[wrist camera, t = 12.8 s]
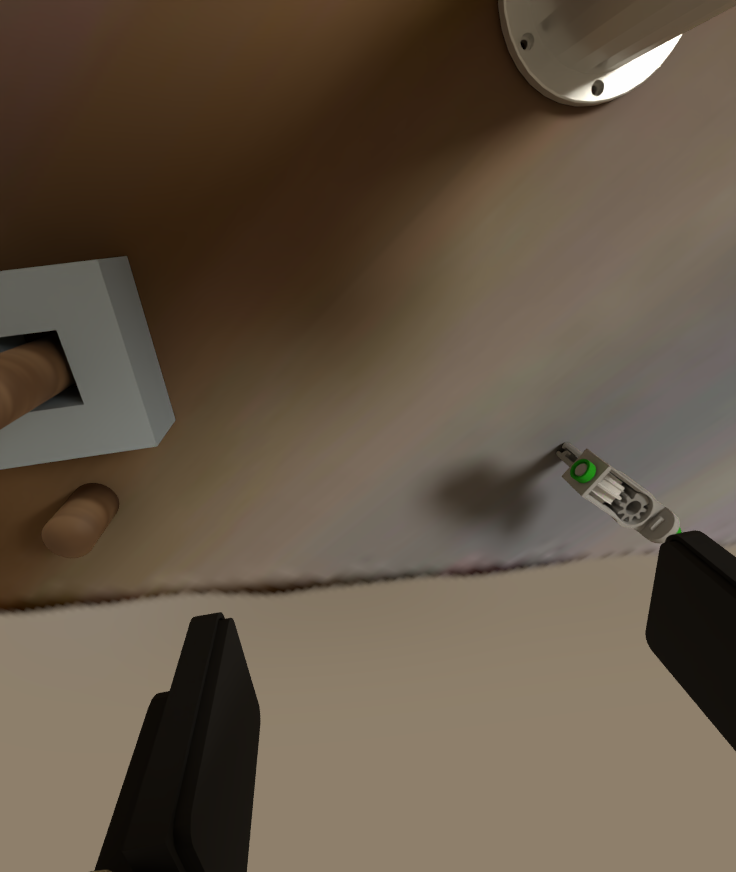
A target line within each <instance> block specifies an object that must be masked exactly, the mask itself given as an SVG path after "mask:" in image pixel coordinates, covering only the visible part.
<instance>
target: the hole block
mask: <svg viewBox="0 0 736 872" xmlns="http://www.w3.org/2000/svg"><path fill="white" fill-rule="evenodd" d="M53 330H56V331H57V333H58V336H59V339H60V341H61V344H62V347H63V349H64V352H65V355H66V357H67V360H68V363H69V365H70V368H71V371H72V373H73V376H74V379H75V381H76V384H77V387H75V388H68V389H65V390H63V391H62V392H60V393H59V394H57V395H55V396H54V397H52V398H50V399H49V400H47V401H46V402H44V403H42V404H41V405H39V406H38V407H36V408H34V409H33V410H31V411H30V412H28V413H26V414H25V415H23V416H22V417H20V418H18V419H17V420H15V421H13V422H12V423H10V424H9V425H7V426H5V427H4V428H2V429H1V430H0V470H1V469H7V468H14V467H21V466H28V465H34V464H41V463H48V462H55V461H62V460H68V459H75V458H82V457H89V456H95V455H102V454H109V453H116V452H123V451H129V450H136V449H143V448H150V447H156V446H158V444H159V443H160V442H161V440H162V439H163V437H164V436H165V434H166V433H167V432H168V430H169V429H170V427H171V426H172V424H173V423H174V422H175V417H174V413H173V410H172V406H171V403H170V400H169V396H168V393H167V390H166V386H165V383H164V379H163V376H162V373H161V369H160V366H159V362H158V359H157V356H156V352H155V349H154V346H153V342H152V339H151V335H150V332H149V329H148V325H147V322H146V318H145V315H144V312H143V308H142V305H141V302H140V298H139V295H138V291H137V288H136V285H135V281H134V278H133V274H132V271H131V268H130V264H129V261H128V258H127V256H122V257H114V258H105V259H97V260H89V261H80V262H72V263H64V264H55V265H47V266H39V267H30V268H22V269H14V270H5V271H0V353H1V352H4V351H6V350H9V349H12V348H14V347H17V346H20V345H23V344H25V343H26V341H25V338H24V336H23V334H29V333H37V332H45V331H53Z"/></svg>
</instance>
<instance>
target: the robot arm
mask: <svg viewBox="0 0 736 872" xmlns="http://www.w3.org/2000/svg"><path fill="white" fill-rule="evenodd" d="M734 6H736V0H498V9H499V15H500V22H501V29H502V32H503V35H504V39H505V42H506V45H507V48H508V51H509V53H510V55H511V57H512V59H513V61H514V63H515V65H516V67H517V68H518V70H519V71H520V73H521V74H522V75H523V76H524V78H525V79H526V80H527V81H528V83H529V84H530V85H531V86H533V87H534V88H535V89H536V90H537V91H539V92H540V93H541V94H542V95H544V96H545V97H548V98H550V99H552V100H554V101H556V102H558V103H561V104H566V105H571V106H576V107H577V106H594V105H598V104H601V103H605V102H608V101H611V100H614V99H616V98H618V97H620V96H622V95H625V94H627V93H628V92H630V91H631V90H633V89H635V88H636V87H638V86H639V85H641V84H642V83H644V82H645V81H646V80H647V79H648V78H649V77H650V76H651V75H652V74H653V73H654V72H656V71H657V70H658V69H659V68H660V66H661V65H662V64H663V63H664V61H665V60H666V59H667V58H668V56H669V55H670V54H671V52H672V51H673V50H674V48H675V46H676V45H677V43H678V42H679V40H680V38H681V37H682V35H683V33H685V32H687V31H689V30H691V29H693V28H695V27H696V26H698V25H700V24H702V23H704V22H706V21H708V20H710V19H711V18H713V17H715V16H717V15H719V14H721V13H723V12H725V11H726V10H728V9H730V8H732V7H734ZM520 42H522V43H523V44H524V46H525V48H524V50H523V48H522V47H521V44H520ZM591 88H592V89H593V94H592V92H591ZM646 640H647V643H648V645H649V647H650V649H651V650H652V651H653V652H654V654H655V655H656V656H657V657H658V658H659V660H660V661H661V662H662V663H663V665H664V666H665V667H666V668H667V669H668V671H669V672H670V673H671V674H672V675H673V677H674V678H675V679H676V680H677V681H678V683H679V684H680V685H681V686H682V687H683V689H684V690H685V691H686V692H687V693H688V695H689V696H690V697H691V698H692V699H693V700H694V702H695V703H696V704H697V705H698V707H699V708H700V709H701V710H702V711H703V712H704V714H705V715H706V716H707V717H708V719H709V720H710V721H711V722H712V723H713V725H714V726H715V727H716V728H717V729H718V730H719V732H720V733H721V734H722V735H723V737H724V738H725V739H726V740H727V741H728V743H729V744H730V745H731V746H732V747H733V749H734V750H735V751H736V557H735V556H733V555H732V554H731V553H729V552H728V551H727V550H725V549H724V548H723V547H721V546H720V545H719V544H717V543H716V542H715V541H713V540H712V539H711V538H709V537H708V536H707V535H705V534H704V533H702V532H700V531H696V530H695V531H689V532H683V533H677V534H672V535H669V536H668V537H667V538H666V540H665V543H663V544H662V545H661V546H660V550H659V556H658V562H657V568H656V573H655V580H654V585H653V591H652V597H651V603H650V609H649V614H648V620H647V626H646ZM259 731H260V709H259V704H258V700H257V697H256V694H255V690H254V687H253V684H252V680H251V677H250V673H249V670H248V667H247V663H246V660H245V657H244V653H243V650H242V646H241V643H240V640H239V636H238V633H237V629H236V626H235V623H234V620H233V619H232V618H228V619H225V618H224V615H223V614H222V613H221V612H220V613H213V614H208V615H203V616H197V617H193V618H192V619H191V622H190V624H189V628H188V631H187V634H186V638H185V641H184V645H183V648H182V651H181V655H180V658H179V661H178V665H177V668H176V672H175V675H174V678H173V682H172V685H171V689H170V691H168V692H163V693H158V694H156V695H155V696H154V697H153V699H152V700H151V703H150V705H149V707H148V710H147V713H146V716H145V719H144V722H143V725H142V728H141V731H140V734H139V737H138V741H137V744H136V747H135V750H134V753H133V756H132V759H131V762H130V765H129V768H128V771H127V774H126V777H125V780H124V783H123V786H122V789H121V792H120V795H119V798H118V801H117V804H116V807H115V810H114V813H113V816H112V819H111V822H110V825H109V828H108V831H107V834H106V837H105V840H104V843H103V846H102V849H101V852H100V856H99V858H98V861H97V864H96V867H95V870H94V871H90V872H247V863H248V851H249V840H250V830H251V819H252V808H253V798H254V787H255V776H256V764H257V754H258V743H259Z"/></svg>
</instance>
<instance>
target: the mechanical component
mask: <svg viewBox="0 0 736 872" xmlns="http://www.w3.org/2000/svg"><path fill="white" fill-rule="evenodd" d="M562 448H563V449H564V450H565V451H564V452H563V453H561V452H560V451H557V452H556V454H557V456H558V457H559V458H560V459H561V460H562V461H563V462H565V463H566V464H567V465H568V466H569V467H570V468H569V469H568V470H567V471H566V472H565V473H564V474H563V475H562V477H563V478H564V479H565V480H566V481H567V482H568V483H569V484H570V485H571V486H572V487H573V488H574V489H575V490H576V491H577V492H578V493H579V494H580V495H581V496H583V497H584V498H585V499H587V500H588V501H590V502H591V503H593V504H594V505H596V506H597V507H599V508H600V509H601V510H603V511H604V512H606V513H607V514H609V515H610V516H611V517H612V518H613V519H614V520H615V521H616V522H618V523H619V524H620V525H621V526H623V527H625V528H634V529H635V530H636V531H638V532H639V533H641V534H642V535H643V536H644V537H645V538H647V539H648V540H650V541H651V542H654V543H664V542H665V540H666V538H667V537H668V536H669V535H672V534H677V533H681V529H680V527H679V526H680V521H679V518H678V517H677V515H676V514H674V513H673V512H672V511H670V510H669V509H668V508H666V507H665V506H664V505H662V504H661V503H660V502H658V501H657V500H656V499H655V497H654V496H653V495H652V494H651V493H649V492H648V491H647V490H645V489H644V488H643V487H641V486H640V485H639V484H637V483H636V482H635V481H633V480H632V479H631V478H629V477H628V476H627V475H625V474H624V473H622V472H620V471H617V470H615V469H614V468H613V467H612V466H610V465H609V464H608V463H606V462H604V461H603V460H602V459H600V458H599V457H598V456H596V455H595V454H594V453H592V452H591V451H590V450H588V449H586V450H585V451H584V452H583V453H582V452H581V451H579V450H578V449H577V448H575V447H574V446H573V445H572V444H570V443H564V444H563V446H562ZM576 456H577V457H578V458H577V457H576Z"/></svg>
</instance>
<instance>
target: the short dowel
mask: <svg viewBox="0 0 736 872" xmlns="http://www.w3.org/2000/svg"><path fill="white" fill-rule="evenodd" d="M118 509H119V500H118V497H117V495H116V494H115V493H114V492H113V491H112V490H111V489H110V488H108V487H107V486H104V485H102V484H97V483H89V484H85V485H82V486H80V487H79V488H78V489H77V490H76V491H75V492H74V493H73V494H72V495H71V496H70V498H69V499H68V500H67V501H66V502H65V503H64V504H63V505H62V507H61V508H60V509H59V510H58V511H57V512H56V513H55V514H54V515H53V517H52V518H51V519H50V520H49V521H48V522H47V523H46V524H45V526H44V527H43V529H42V533H41V536H42V540H43V543H44V544H45V546H46V547H47V548H48V549H49V550H50V551H51V552H53V553H55V554H57V555H59V556H62V557H66V558H77V557H81V556H84V555H86V554H87V553H89V552H90V551H91V549H92V548H93V547H94V545H95V544H96V542H97V541H98V539H99V538H100V536H101V535H102V533H103V532H104V530H105V529H106V527H107V526H108V524H109V523H110V522H111V520H112V519H113V517H114V516H115V514H116V513H117V511H118Z"/></svg>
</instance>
